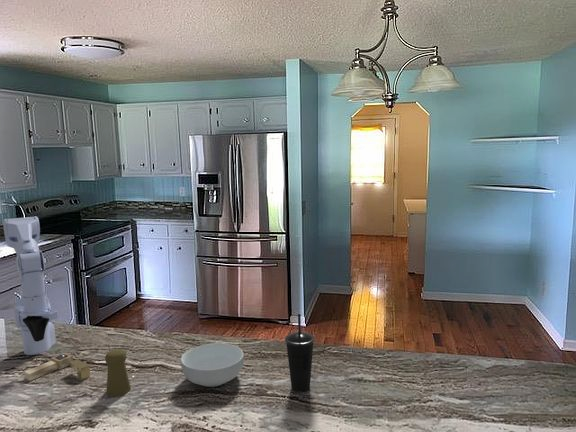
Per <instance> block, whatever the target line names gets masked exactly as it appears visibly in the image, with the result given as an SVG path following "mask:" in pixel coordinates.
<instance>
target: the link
mask: <svg viewBox="0 0 576 432" xmlns="http://www.w3.org/2000/svg"><path fill="white" fill-rule="evenodd" d="M61 354H65V358H64V359H61V360H58V356H59V355H61ZM71 361H74V355H72V354H69V353H67V352H62V353H59V354H58V355H55V356H52V357H50V360H49V361H47V362H45V363H42V364H39V365H37V366H35V367H32V368H30V369H28V370H25V371H24V372H23V374H24V379H25V380H27V381H29V382H31V381H33V380H36V379H38V378H40V377H43V376H45V375H47V374H49V373H53V372H54V371H56V370H61V369H64V368H67V367H68V366H70V365H69V362H71Z"/></svg>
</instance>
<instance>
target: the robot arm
mask: <svg viewBox="0 0 576 432" xmlns="http://www.w3.org/2000/svg"><path fill="white" fill-rule="evenodd" d="M2 224H3V233H4V238H5V243H6V244H7V247H8V248H12V249H13V250H14V252H15V254H16V257H15V259H16V260H15V261H16V269H17V273H18V277H19V281H20V287H21V295H22V296H21V297H20V298H19V299H18V300H17V301H16V302H14V305H13V308H14V310H13V312H14V313H13V314H14V319H15V320H14V321H15V322H14V323H15V327H16V328H17V329H20V330H21V339H22V348H23V353H24V355H26V356H35V355H39V354H42V353H45V352H47V351H48V350H50V348H51V347H52V346H54V345H55V344H56V343H57V342H56V341H57V340H56V329H55V326H54V324H53V322H51V321H53V320H55V319H58V311H57V310H53V309H52V306H51V303H50V299H49V298H48V297H47V296H46V286H45V277H44V275H45V274H44V272H45V268H46V267H45V266H46V264H45V263H46V262H45V257H44V254H43V252H42V250H40V248H39V243H40V238H41V237H40V236H41V234H40V233H41V226H40V220H39V217H38V216H36V215H35V216H27V217H16V218H15V217H14V218H4V219H3V220H2Z"/></svg>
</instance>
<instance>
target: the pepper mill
mask: <svg viewBox="0 0 576 432" xmlns="http://www.w3.org/2000/svg"><path fill="white" fill-rule="evenodd" d="M104 360H105V364H106V365H107V377H106V378H107V379H106V395H107V396H108V397H111V398H116V397H121V396H124V395H127V394H128V393H130V392H131V390H132V388H131V387H132V386H131V382H130V379H129V374H128V370H127V366H126V360H127V352H126V351H125V350H124V349H121V348H116V349H112V350H109V351H107V353H106V354H105V356H104Z"/></svg>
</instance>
